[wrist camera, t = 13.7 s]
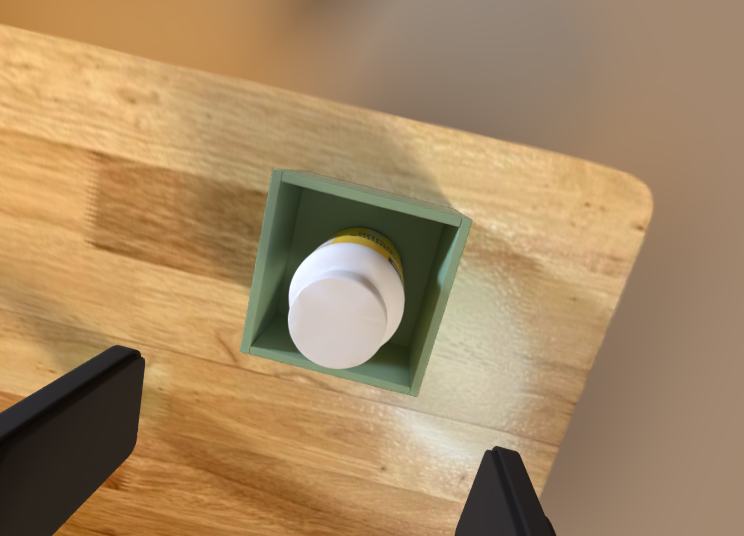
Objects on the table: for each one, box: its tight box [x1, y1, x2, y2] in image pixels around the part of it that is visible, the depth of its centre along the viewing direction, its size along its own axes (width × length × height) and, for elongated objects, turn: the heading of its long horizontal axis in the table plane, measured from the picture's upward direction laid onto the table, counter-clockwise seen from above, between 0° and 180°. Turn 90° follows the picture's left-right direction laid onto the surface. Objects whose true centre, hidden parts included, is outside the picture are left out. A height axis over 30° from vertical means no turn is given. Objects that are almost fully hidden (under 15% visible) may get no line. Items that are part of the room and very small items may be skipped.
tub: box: [240, 169, 472, 397], centre depth 27 cm, size 12×12×6 cm
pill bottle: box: [288, 227, 405, 369], centre depth 24 cm, size 6×6×12 cm
